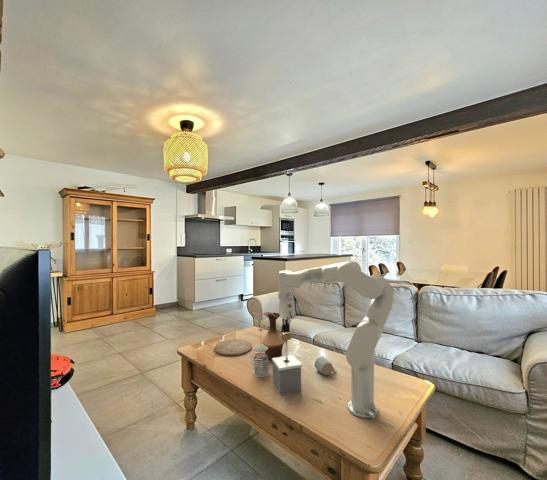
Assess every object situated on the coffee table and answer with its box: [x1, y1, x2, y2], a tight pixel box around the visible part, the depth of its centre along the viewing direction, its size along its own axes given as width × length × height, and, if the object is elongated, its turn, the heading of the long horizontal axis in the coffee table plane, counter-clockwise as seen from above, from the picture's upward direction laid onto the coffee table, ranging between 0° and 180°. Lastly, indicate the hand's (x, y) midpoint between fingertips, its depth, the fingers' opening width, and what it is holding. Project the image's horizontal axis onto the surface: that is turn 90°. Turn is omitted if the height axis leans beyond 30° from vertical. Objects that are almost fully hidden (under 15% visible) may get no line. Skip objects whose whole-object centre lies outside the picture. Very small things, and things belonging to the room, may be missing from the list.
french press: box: [250, 328, 271, 378], centre depth 158 cm, size 10×12×25 cm
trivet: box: [213, 338, 252, 357], centre depth 193 cm, size 25×25×2 cm
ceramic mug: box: [314, 356, 336, 376], centre depth 159 cm, size 11×8×8 cm
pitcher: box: [259, 311, 285, 361], centre depth 180 cm, size 18×17×28 cm
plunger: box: [280, 331, 292, 363], centre depth 144 cm, size 5×5×18 cm
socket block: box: [271, 354, 303, 396], centre depth 146 cm, size 16×12×13 cm
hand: (286, 331), depth 144 cm, fingers closed
